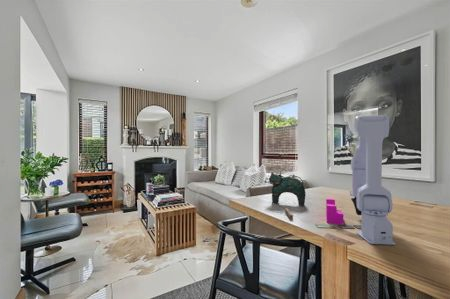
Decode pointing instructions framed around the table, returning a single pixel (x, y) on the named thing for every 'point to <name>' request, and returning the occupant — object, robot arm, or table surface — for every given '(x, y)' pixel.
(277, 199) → the ceramic cat
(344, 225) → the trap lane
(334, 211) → the toy block
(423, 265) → the table surface
